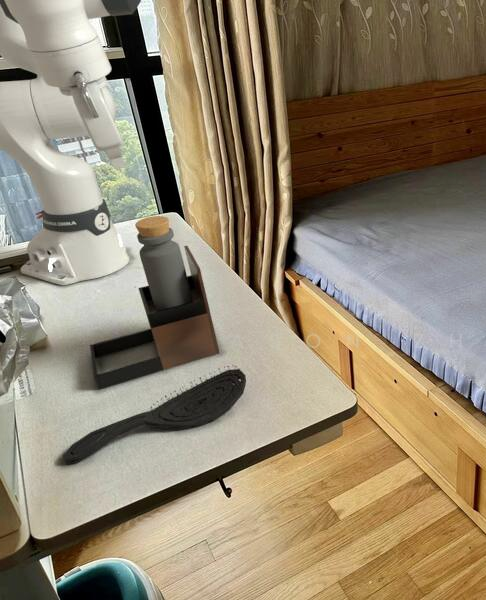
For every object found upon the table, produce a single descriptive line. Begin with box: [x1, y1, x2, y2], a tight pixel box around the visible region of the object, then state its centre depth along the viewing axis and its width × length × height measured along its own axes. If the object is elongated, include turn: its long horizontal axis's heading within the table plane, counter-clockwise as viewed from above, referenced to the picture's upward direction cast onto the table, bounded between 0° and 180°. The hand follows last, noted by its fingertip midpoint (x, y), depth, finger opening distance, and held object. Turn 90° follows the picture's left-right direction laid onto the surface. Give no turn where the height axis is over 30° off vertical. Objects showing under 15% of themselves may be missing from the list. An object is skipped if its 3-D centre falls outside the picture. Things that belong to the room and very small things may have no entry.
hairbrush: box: [62, 364, 247, 465], centre depth 76 cm, size 8×4×25 cm
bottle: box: [135, 215, 193, 311], centre depth 85 cm, size 6×6×15 cm
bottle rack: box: [89, 245, 220, 391], centre depth 87 cm, size 18×10×16 cm, turn 120°
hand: (115, 154), depth 85 cm, fingers open, 8 cm apart
